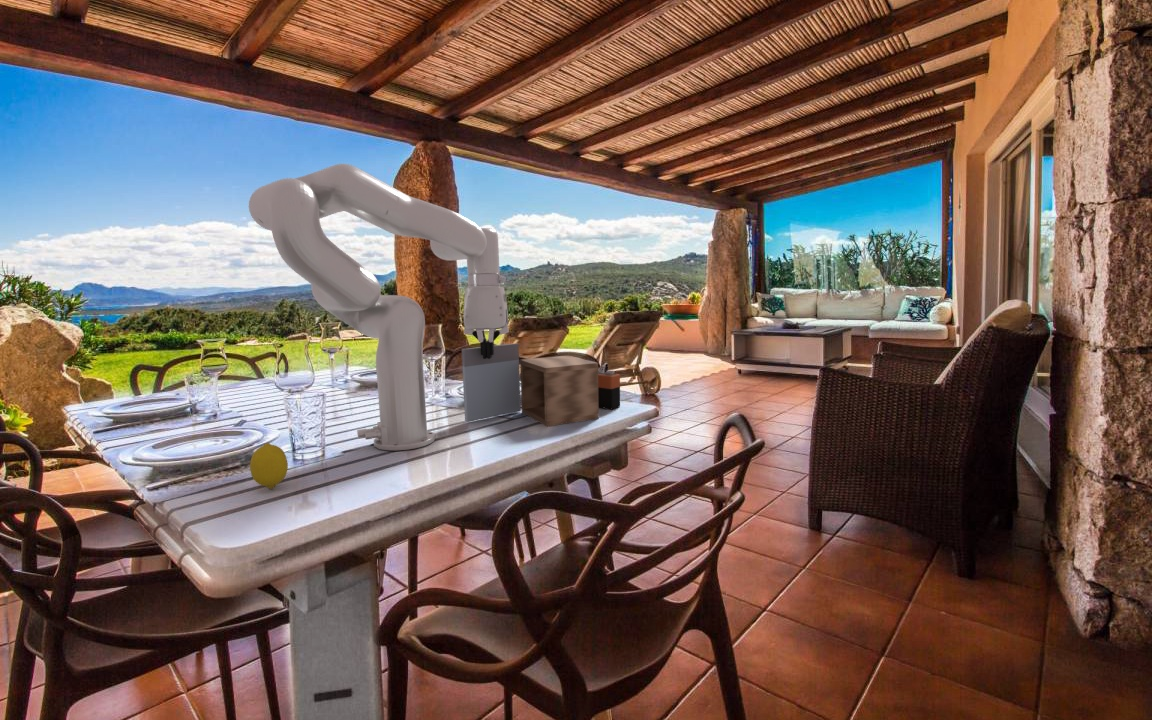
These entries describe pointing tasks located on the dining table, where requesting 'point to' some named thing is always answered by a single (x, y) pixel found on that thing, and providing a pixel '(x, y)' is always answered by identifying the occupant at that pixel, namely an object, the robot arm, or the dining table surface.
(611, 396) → the battery
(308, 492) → the dining table surface
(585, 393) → the cubby
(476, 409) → the door
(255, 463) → the lemon
